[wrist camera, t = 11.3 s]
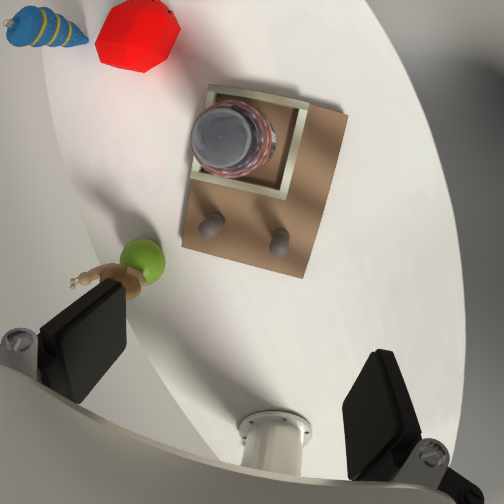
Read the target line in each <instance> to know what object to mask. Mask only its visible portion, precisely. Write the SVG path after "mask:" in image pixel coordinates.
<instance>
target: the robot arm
mask: <svg viewBox="0 0 504 504" xmlns="http://www.w3.org/2000/svg"><path fill="white" fill-rule="evenodd" d="M126 344H127V341H126V289H125V287H123V284H122V282H120V281H117V280H114V279H111V278H106V279H105V280H103V281H102V282H101V283H99V284H98V285H97V286H95V287H94V288H93V289H91V290H90V291H88V292H87V293H86V294H84V295H83V296H82V297H80V298H79V299H78V300H76V301H75V302H74V303H72V304H71V305H70V306H68V307H67V308H66V309H64V310H63V311H62V312H60V313H59V314H58V315H56V316H55V317H54V318H53V319H51V320H50V321H49V322H47V323H46V324H45V325H44V326H42V327H41V328H40V333H39V334H38V335H36V334H35V332H33V331H32V330H30V329H27V328H15V329H12V330H10V331H8V332H7V333H6V334H5V335H4V336H3V338H2V340H1V344H0V504H484V496H483V493H482V491H481V490H480V489H479V488H478V487H477V486H476V485H474V484H473V483H471V482H470V481H468V480H467V479H465V478H464V477H462V476H461V475H459V474H458V473H457V472H455V471H454V470H452V469H451V468H449V467H448V465H449V461H450V456H449V452H448V450H447V448H446V447H445V446H444V445H443V444H442V443H441V442H440V441H438V440H436V439H432V438H425V439H422V437H421V433H422V432H421V429H420V425H419V422H418V419H417V416H416V413H415V410H414V407H413V404H412V402H411V399H410V396H409V393H408V390H407V388H406V385H405V382H404V379H403V377H402V374H401V371H400V369H399V366H398V364H397V361H396V359H395V356H394V353H393V352H392V351H388V350H383V349H377V350H376V351H375V352H372V353H371V354H370V355H369V357H368V359H367V361H366V363H365V365H364V367H363V368H362V370H361V372H360V374H359V376H358V378H357V379H356V381H355V383H354V385H353V386H352V388H351V390H350V391H349V393H348V395H347V396H346V398H345V400H344V402H343V406H342V412H343V422H344V433H345V444H346V457H347V472H348V479H349V480H352V481H347V480H332V479H320V478H310V477H301V464H302V447H304V446H305V445H307V444H308V443H309V442H310V440H311V438H312V428H311V425H310V424H309V423H308V422H307V421H306V420H304V419H303V418H301V417H299V416H297V415H294V414H291V413H287V412H280V411H266V412H259V413H255V414H252V415H250V416H248V417H246V418H245V419H244V420H243V421H242V422H241V424H240V428H239V435H240V437H241V438H242V440H243V441H244V442H245V448H244V453H243V457H242V462H241V466H238V465H234V464H230V463H226V462H222V461H218V460H214V459H211V458H207V457H203V456H200V455H197V454H194V453H190V452H187V451H184V450H181V449H178V448H175V447H172V446H169V445H166V444H164V443H161V442H159V441H156V440H153V439H151V438H148V437H146V436H143V435H141V434H138V433H135V432H133V431H131V430H129V429H126V428H124V427H122V426H120V425H118V424H115V423H113V422H111V421H109V420H107V419H105V418H103V417H101V416H99V415H97V414H95V413H93V412H91V411H89V410H87V409H85V408H83V407H81V406H79V405H78V404H80V403H81V402H82V401H83V400H84V399H85V398H86V396H87V395H88V394H89V393H90V391H91V390H92V389H93V388H94V386H95V385H96V384H97V383H98V381H99V380H100V379H101V378H102V376H103V375H104V374H105V373H106V372H107V370H108V369H109V368H110V367H111V366H112V364H113V363H114V362H115V361H116V360H117V358H118V357H119V356H120V355H121V353H122V352H123V351H124V350H125V347H126Z"/></svg>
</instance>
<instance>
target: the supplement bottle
mask: <svg viewBox="0 0 504 504" xmlns="http://www.w3.org/2000/svg"><path fill="white" fill-rule="evenodd" d="M191 147H192V151H193V154H194V156H195V158H196V160H197V161H198V163H199V164H200V165H201V166H202V167H203V168H204V169H205V170H206V171H208V172H209V173H211V174H213V175H215V176H218V177H223V178H238V177H242V176H245V175H248V174H250V173H252V172H254V171H255V170H257V169H259V168H261V167H262V166H264V165H265V164H266V163H267V162H268V161H269V160H270V159H271V157H272V156H273V154H274V151H275V150H276V135H275V131H274V129H273V127H272V125H271V124H270V122H269V121H268V120H267V119H266V118H265V117H264V116H263V115H262V114H261V113H260V112H259V111H258V110H257V109H256V108H254V107H253V106H251V105H249V104H247V103H244V102H241V101H236V100H227V101H221V102H218V103H215V104H213V105H211V106H210V107H208V108H207V109H205V110H204V111H203V112H202V113H201V114H200V115H199V117H198V118H197V120H196V122H195V124H194V126H193V129H192V132H191Z"/></svg>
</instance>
